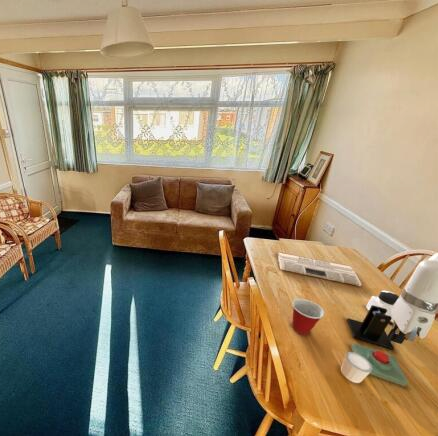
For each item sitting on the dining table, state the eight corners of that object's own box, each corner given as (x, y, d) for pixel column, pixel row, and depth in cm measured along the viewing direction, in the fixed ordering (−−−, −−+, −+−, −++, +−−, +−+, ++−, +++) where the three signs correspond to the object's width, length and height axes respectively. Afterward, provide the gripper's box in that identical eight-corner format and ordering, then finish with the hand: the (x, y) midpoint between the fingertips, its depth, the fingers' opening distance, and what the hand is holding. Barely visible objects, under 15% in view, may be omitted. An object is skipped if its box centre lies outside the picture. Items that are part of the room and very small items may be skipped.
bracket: (382, 330, 95) (396, 307, 90) (392, 350, 87) (409, 327, 81) (346, 319, 100) (357, 297, 94) (353, 338, 92) (366, 315, 86)
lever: (397, 328, 90) (404, 326, 89) (405, 341, 86) (412, 338, 84) (370, 308, 92) (376, 305, 91) (376, 319, 87) (382, 316, 86)
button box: (391, 360, 84) (396, 352, 82) (404, 386, 75) (410, 379, 74) (350, 346, 88) (354, 339, 87) (359, 370, 80) (363, 363, 78)
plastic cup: (300, 315, 102) (308, 295, 97) (321, 336, 92) (331, 315, 87) (279, 320, 100) (286, 299, 95) (299, 342, 90) (308, 320, 85)
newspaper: (280, 270, 131) (281, 266, 130) (277, 253, 147) (278, 249, 146) (360, 287, 118) (362, 283, 117) (346, 266, 134) (348, 262, 133)
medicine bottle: (394, 323, 98) (407, 302, 93) (373, 318, 100) (385, 298, 95) (384, 310, 104) (396, 290, 99) (365, 307, 106) (376, 287, 101)
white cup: (367, 388, 75) (376, 375, 72) (342, 380, 77) (350, 367, 74) (358, 368, 81) (366, 355, 78) (335, 361, 83) (342, 349, 80)
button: (384, 356, 81) (386, 353, 80) (388, 365, 78) (391, 362, 77) (371, 352, 82) (373, 348, 82) (375, 360, 80) (377, 357, 79)
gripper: (454, 321, 61) (421, 365, 69) (423, 287, 73) (398, 327, 81) (415, 312, 64) (388, 355, 72) (392, 280, 76) (371, 320, 84)
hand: (394, 340), depth 76 cm, fingers closed
